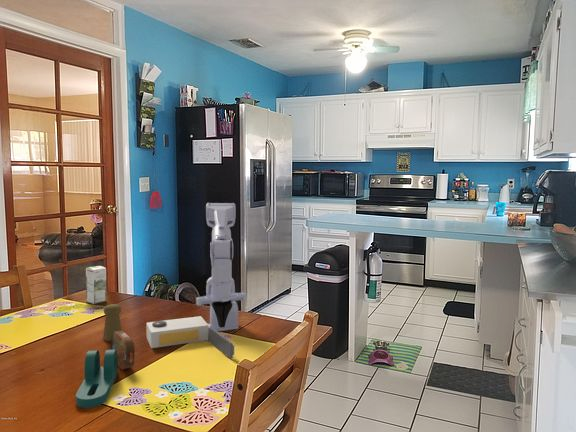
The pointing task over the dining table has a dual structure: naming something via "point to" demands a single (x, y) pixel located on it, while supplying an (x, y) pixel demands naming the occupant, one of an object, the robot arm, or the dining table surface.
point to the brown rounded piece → (123, 349)
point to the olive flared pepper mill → (111, 320)
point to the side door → (221, 342)
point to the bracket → (97, 379)
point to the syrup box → (96, 284)
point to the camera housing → (176, 331)
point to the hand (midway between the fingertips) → (221, 326)
